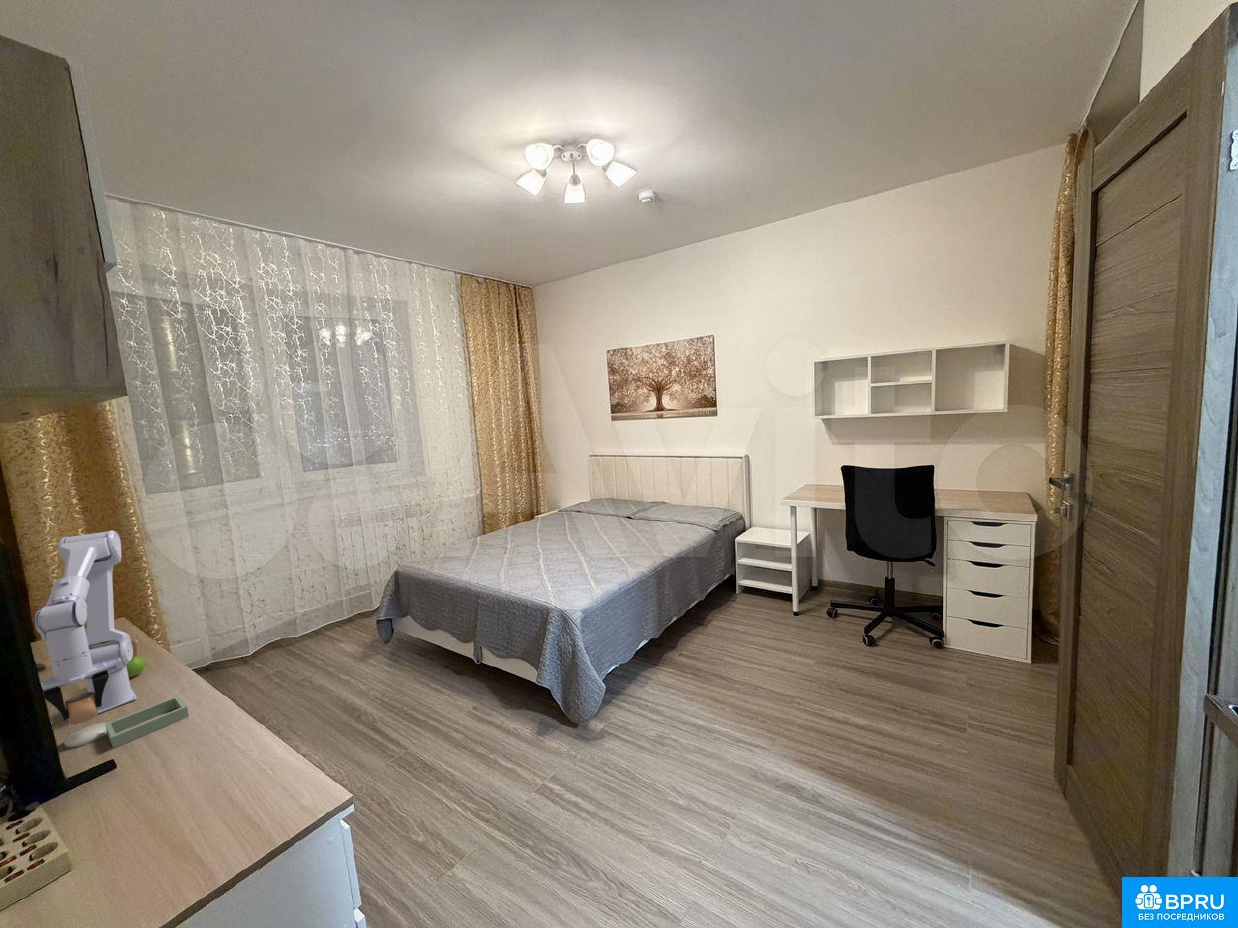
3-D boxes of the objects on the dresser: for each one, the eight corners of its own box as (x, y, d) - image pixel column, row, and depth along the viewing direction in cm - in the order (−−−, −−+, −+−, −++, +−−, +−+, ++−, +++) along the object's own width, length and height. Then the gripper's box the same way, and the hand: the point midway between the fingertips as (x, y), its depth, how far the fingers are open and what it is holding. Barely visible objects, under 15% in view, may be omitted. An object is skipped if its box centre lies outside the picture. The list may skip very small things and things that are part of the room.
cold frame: (107, 734, 109) (105, 724, 109) (180, 704, 119) (178, 695, 119) (113, 748, 104) (111, 737, 104) (188, 716, 114) (187, 706, 114)
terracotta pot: (67, 720, 107) (63, 699, 107) (96, 709, 111) (91, 689, 110) (71, 726, 105) (67, 705, 104) (100, 715, 109) (96, 694, 108)
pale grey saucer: (63, 740, 108) (62, 736, 108) (108, 722, 113) (107, 718, 113) (66, 752, 104) (65, 747, 104) (112, 733, 109) (112, 729, 109)
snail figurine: (132, 681, 132) (124, 641, 130) (114, 680, 133) (106, 640, 132) (154, 671, 137) (147, 631, 136) (137, 670, 138) (129, 631, 137)
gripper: (19, 676, 98) (33, 736, 100) (119, 645, 110) (131, 700, 111) (17, 666, 102) (31, 725, 104) (114, 638, 114) (125, 690, 115)
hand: (82, 711), depth 108 cm, fingers closed on terracotta pot, 4 cm apart
